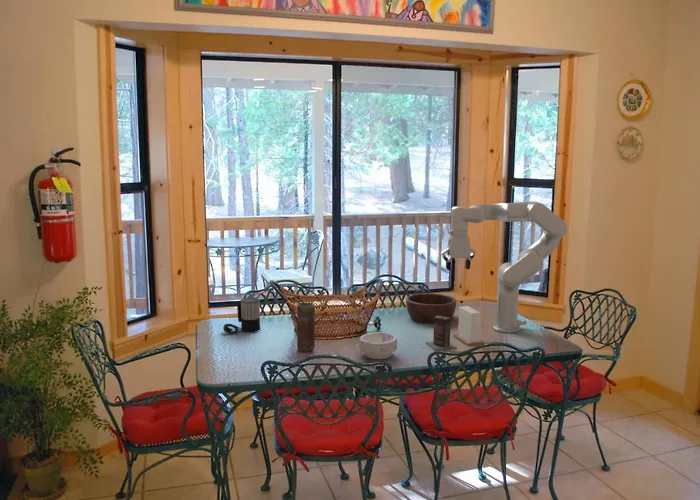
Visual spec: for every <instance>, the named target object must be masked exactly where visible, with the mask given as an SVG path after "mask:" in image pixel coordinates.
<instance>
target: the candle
mask: <svg viewBox="0 0 700 500" xmlns="http://www.w3.org/2000/svg"><path fill="white" fill-rule="evenodd" d="M296 306H297V307H296V308H297V314H296V315H297V317H296V319H297V326H296V327H297V328H296V329H297V333H296V335H297V338H296V339H297V341H296V342H297V343H296V345H297V346H296V347H297V351H298V352H305V353H306V352H311V351H314V349H315V347H316V344H315V343H316V342H315V341H316V340H315V339H316V338H315V337H316V335H315V328H316V327H315V326H316V324H315V320H316V319H315V304H313V303H309V302H306V301H305V302H298V303H297V305H296Z"/></svg>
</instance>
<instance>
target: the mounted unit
mask: <svg viewBox="0 0 700 500" xmlns="http://www.w3.org/2000/svg"><path fill="white" fill-rule="evenodd" d="M481 315H482V314H481V312H480V311H478V310H477V309H474V308H473V307H470V306H469V305H467V306H464V305H463V306H459V307H458V331H457V333H456V334H453V338H455V339H456V340H458V341H460V342H461V343H462V344H464V345H465V346H467V347H469V346H470V347H471V346H482V345H481V344H484V345H485V341H483V340H482V339H481V317H482V316H481Z"/></svg>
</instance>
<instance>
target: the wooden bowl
mask: <svg viewBox="0 0 700 500" xmlns="http://www.w3.org/2000/svg"><path fill="white" fill-rule="evenodd" d="M405 301H406V309H407V314H408V315H409V317H410V319H411V320H413V321H415V322H416V323H417V322H418V323H424V324H434V317H436V316H443V317H448V318H451V319H450V321H451V320H452V318H453V317H454V315H455V312H456V309H457V298H455V297H453V296H451V295H448V294H443V293H433V292H432V293H431V292H430V293H429V292H426V293H416V294H411V295H409V296H406V299H405Z"/></svg>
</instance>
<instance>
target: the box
mask: <svg viewBox="0 0 700 500" xmlns="http://www.w3.org/2000/svg"><path fill="white" fill-rule="evenodd" d="M450 319H451V320H452V318H448V317H443V316H436V317H434V323H433V339H432V340H433V341H432V342H433V344H436V345H440V346H444V347H446V346H448V345H450V343H451V320H450Z"/></svg>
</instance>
